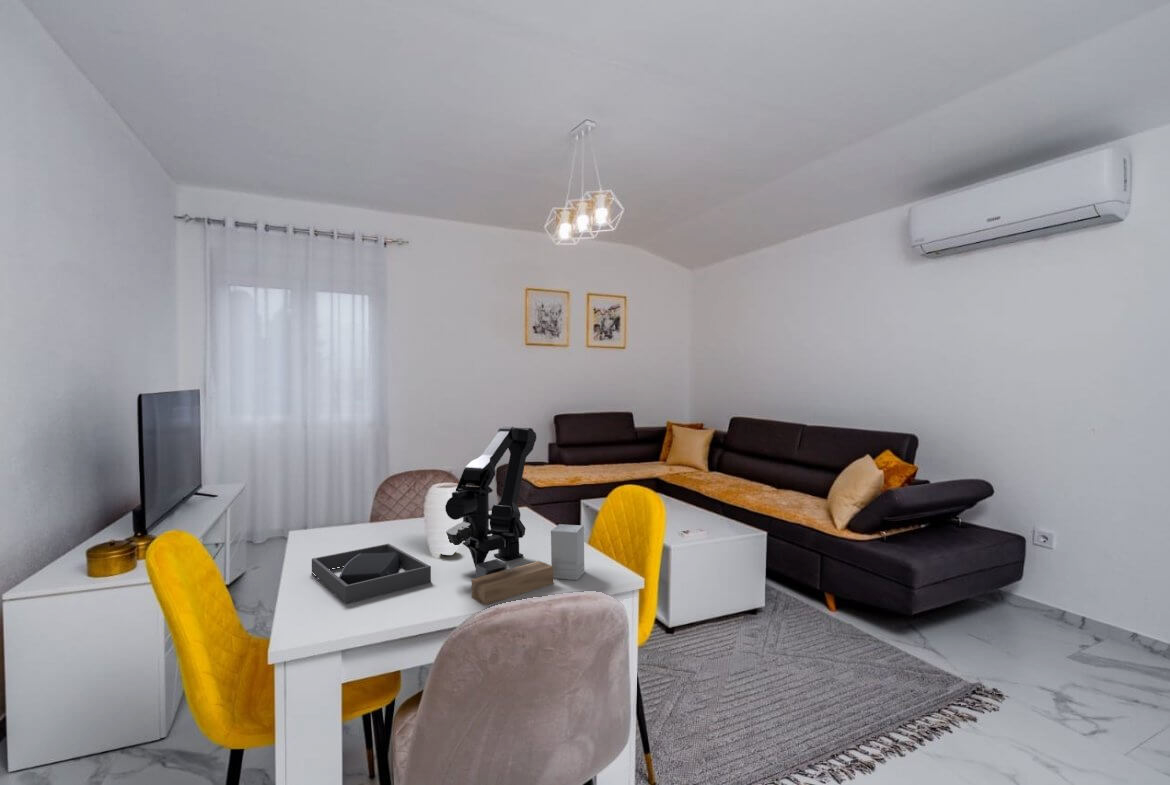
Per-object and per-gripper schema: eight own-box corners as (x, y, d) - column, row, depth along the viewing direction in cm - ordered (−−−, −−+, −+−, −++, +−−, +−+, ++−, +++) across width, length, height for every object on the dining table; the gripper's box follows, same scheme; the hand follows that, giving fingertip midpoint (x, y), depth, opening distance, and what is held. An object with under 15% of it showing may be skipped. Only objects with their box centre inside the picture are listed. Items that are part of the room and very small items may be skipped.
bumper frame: (311, 573, 144) (311, 558, 144) (388, 556, 158) (388, 543, 158) (345, 603, 123) (345, 586, 123) (430, 581, 137) (430, 566, 137)
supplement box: (585, 571, 144) (584, 525, 144) (577, 580, 137) (577, 532, 137) (559, 569, 146) (559, 523, 146) (550, 578, 139) (550, 530, 139)
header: (461, 591, 130) (461, 573, 130) (528, 572, 143) (528, 556, 143) (485, 605, 122) (484, 585, 122) (553, 583, 135) (553, 566, 135)
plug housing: (475, 580, 138) (475, 564, 138) (496, 574, 142) (496, 558, 142) (485, 585, 134) (485, 568, 134) (506, 579, 139) (506, 563, 139)
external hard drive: (331, 591, 130) (331, 575, 130) (354, 566, 149) (354, 551, 149) (386, 589, 131) (386, 572, 131) (402, 564, 151) (402, 549, 151)
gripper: (434, 510, 145) (434, 567, 145) (468, 522, 131) (468, 585, 131) (471, 504, 152) (471, 558, 152) (506, 515, 138) (506, 575, 138)
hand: (478, 569), depth 143 cm, fingers closed
